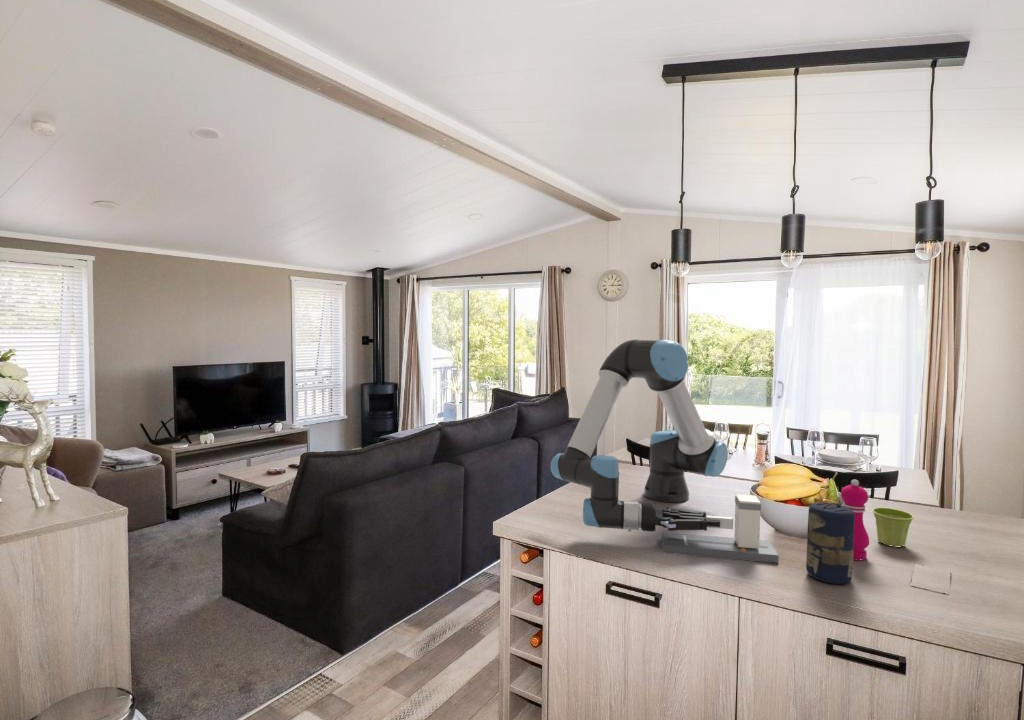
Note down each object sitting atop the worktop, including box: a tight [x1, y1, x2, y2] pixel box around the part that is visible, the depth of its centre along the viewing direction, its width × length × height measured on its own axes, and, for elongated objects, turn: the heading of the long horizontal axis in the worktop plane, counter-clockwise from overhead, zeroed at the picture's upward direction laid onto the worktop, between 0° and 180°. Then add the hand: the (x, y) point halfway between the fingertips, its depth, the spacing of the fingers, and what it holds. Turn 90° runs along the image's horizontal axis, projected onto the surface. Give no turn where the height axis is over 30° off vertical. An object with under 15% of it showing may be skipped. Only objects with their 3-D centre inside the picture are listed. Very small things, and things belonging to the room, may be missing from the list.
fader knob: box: [733, 494, 762, 549], centre depth 145 cm, size 5×6×12 cm
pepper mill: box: [840, 479, 870, 561], centre depth 144 cm, size 7×7×20 cm
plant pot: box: [871, 507, 915, 546], centre depth 153 cm, size 9×9×9 cm
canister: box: [805, 501, 855, 585], centre depth 131 cm, size 10×10×18 cm
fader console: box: [660, 531, 780, 564], centre depth 147 cm, size 28×10×2 cm, turn 77°
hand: (732, 523), depth 146 cm, fingers closed
